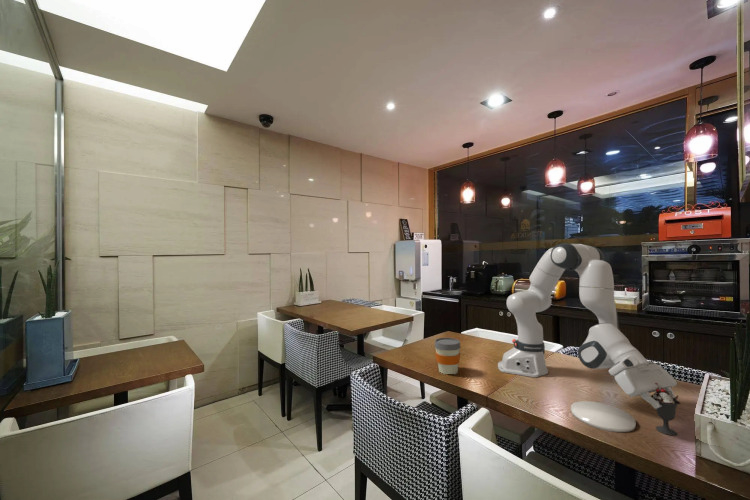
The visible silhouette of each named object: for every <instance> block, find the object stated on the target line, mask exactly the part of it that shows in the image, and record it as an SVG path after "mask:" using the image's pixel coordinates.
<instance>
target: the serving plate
mask: <svg viewBox="0 0 750 500" xmlns="http://www.w3.org/2000/svg"><path fill="white" fill-rule="evenodd" d="M570 412H571V414H572V416H573V417H575V418H576V419H577V420H579V421H580V422H582V423H583V422H584V424H585V423H586V425H588V426H590V427H593V428H597V429H598V430H603V431H607V432H614V433H627V432H632V431H634V430H635V429H636V425H637V422H636V419H635V417H633V416H632V415H631V414H630V413H628V412H627V411H625V410H623V409H621V408H618V407H616V406H613V405H611V404H607V403H602V402H598V401H591V400H581V401H576V402H573V403H572V404H571V406H570Z"/></svg>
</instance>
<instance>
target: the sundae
mask: <svg viewBox="0 0 750 500" xmlns="http://www.w3.org/2000/svg"><path fill="white" fill-rule="evenodd" d="M655 384H656V385H657V384H658V383H655ZM657 386H658V385H657ZM658 388H659V387H658ZM650 396H651V397H652V398H653V399H654V400H656V401H659V403H660V404H661V405H662V407H660V408H657V409H655V410H656V411H655V412H656V414H657V416H658V417H659V418H660V419H662V422H663V423H662V426H661V425H660V426H659V425H657V426H655V429H656V431H658V432H660V433H661V434H664V435H667V436H673V437H675V436H677V435H678V432H677V431H675V430H674V429H672V428H671V427H670V424H669V422H670V421H673V420H674V419H675V417H676V410H677V405H681V402H680V400H677V399H678V398H679V394H678V395H676V396H675V398H673V395H672V394H671V393H669V392H668V391H666V390H664V389H661V390H659V389H656V392H653V394H651V395H650Z"/></svg>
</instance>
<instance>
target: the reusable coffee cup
mask: <svg viewBox="0 0 750 500" xmlns="http://www.w3.org/2000/svg"><path fill="white" fill-rule="evenodd" d="M434 348H435V358H436V362H437V365H438V372H439V373H440V372H441V373H440V374H442V373H443V374H442V375H445V374H454V375H456V374H458V371H459V363H460V360H461V359H460V358H461V352H460V351H461V350H460V349H461V342H460V340H459V339H457V338H453V337H440V338H436V339H435V340H434Z"/></svg>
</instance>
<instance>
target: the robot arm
mask: <svg viewBox="0 0 750 500" xmlns="http://www.w3.org/2000/svg"><path fill="white" fill-rule="evenodd" d="M566 270H567V271H569V272H573V271H575V272H576V273H577V274H578V276H579V283H578V286H579V287H578V292H579V294H578V296H579V300H580V303H581V304H582V305H583V306H584V307H585V308H586V309H587V310H589V311H590V312H592V313H593V314H594V315H595V316H596V317H597V318H596V319H597V320H598V323H596V324H594V325H592V326H591V327H589V330H588V335H587V337H586V339H585V340H584V342H583V343H582V344H581V345H580V346H579V347H578V349H577V356H578V360H579V361H580V362H581V364H582V365H583V366H585V367H586V368H588V369H594V370H599V369H602V370H603V369H609V370H608V373H609V374H610V376H612V377H614V380H615V382H616V383H617V385H618V386H619V388H621V389H622V391H623V392H624V393H625V394H626V395H628V396H629V397H631V398H633V397H637V396H640V397H641V398H642V399H643V400H644V401H646V402H647V403H649V404H650V405H651V406H652V407H653V409H654V410H656V409H657V408H660V407H662V405H661V404H660V403H659V401H656V400H654V399H653V398H652V397H651V396H652V395H651V393H655V392H656V389H659V390H661V389H664V390H666V391H668V392H669V393H671V394H672V395H673V398H675V397H676V396H675V393H674V391H673V389H672V388H673V387H675V386H677V385H678V383H677V381H676V379H675V378H674V377H673V376H672V375H671V374H670V373H669V372H668V371H667V370H666V369H664V368H663V366H661V365H659V364H657V363H656V362H653V361H651V360H647V358H645V357H644V355H643V354H642V353H641V352H640V351H639V350H638V349H637V348H636V347H635V346H633V345H632V344H631V342H630V340H629V339H628V338H627V337H626V335H625V334H624V333H623V332H621V330H620V324H619V315H618V310H617V306H616V303H615V302H616V301H615V284H614V283H615V282H614V274H613V270H612V266H611V264H610V263H608V262H607V261H605V254H604V253H603V251H602V250H601V249H600V248H598V247H596V246H592V245H587V244H582V243H568V242H564V243H559V244H556V245H554V247H550V248H549V249H548V250H546V251H545V252H544V254H543V255H542V256H541V257H540V259H539V261H538V262H537V264H536V265H535V267H534V268H533V271H532V272H531V274H530V276H529V279H528V280H529V282H530V285H529V288H528V289H526V290H523V291H517V292H514V293H512V294H510V295H509V296H508V297H507V298H506V308H507V309H508V311H509V312H510V313H511V314H512V315H513V316H514V319H515V321H516V326H517V327H516V328H517V339H516V338H513V339H512V340H511V341H512V344H513V347H512V348H511V349H509V350H507V351H506V352H504V353H503V355H502V359H501V360H500V361H498V363H497V368H498V370H499V371H500V372H502V373H507V374H511V375H512V374H513V375H517V376H518V375H519V376H523V377H529V378H530V377H531V378H538V377H540V376H545V375H548V374H549V370H548V367H547V364H546V359H545V357H546V356H545V354H546V353H545V352H546V346H545V342H544V331H543V330H544V329H543V325H542V323H540V322H539V321H538V319H537V315H536V313H540V312H541V313H542V312H543V311H546V310H547V309H549V308H550V307H551V305H552V297H551V295H552V293H553V290H554V288H555V286H556V285H557V283H558V281H559V280H560V279H561V277H562V275H563V274H564V272H565V271H566ZM655 383H658V384H657V385H658V386H657V385H656V384H655ZM658 387H659V388H658ZM677 400H678V399H677ZM678 401H679V400H678Z"/></svg>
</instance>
